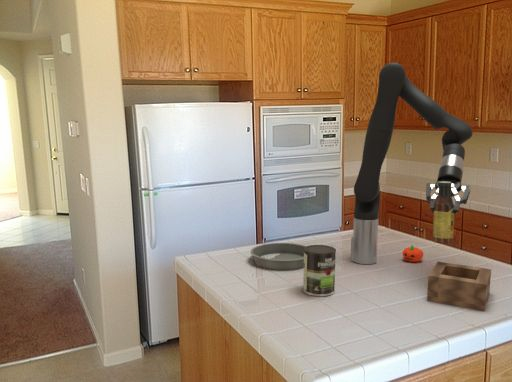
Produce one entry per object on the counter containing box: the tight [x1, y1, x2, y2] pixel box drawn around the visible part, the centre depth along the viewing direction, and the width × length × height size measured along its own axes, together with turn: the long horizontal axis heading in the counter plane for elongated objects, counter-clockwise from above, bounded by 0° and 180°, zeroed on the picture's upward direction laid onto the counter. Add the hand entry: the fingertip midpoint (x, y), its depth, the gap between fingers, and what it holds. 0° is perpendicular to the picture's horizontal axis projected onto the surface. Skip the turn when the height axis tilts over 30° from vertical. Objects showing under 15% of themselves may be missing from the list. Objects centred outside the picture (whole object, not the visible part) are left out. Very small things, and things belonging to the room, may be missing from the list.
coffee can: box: [302, 244, 337, 297], centre depth 152 cm, size 10×10×14 cm
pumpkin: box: [401, 244, 424, 263], centre depth 184 cm, size 7×8×6 cm
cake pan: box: [250, 242, 307, 271], centre depth 184 cm, size 25×25×4 cm
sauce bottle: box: [432, 181, 455, 245], centre depth 153 cm, size 7×6×20 cm
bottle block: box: [426, 261, 492, 312], centre depth 147 cm, size 16×16×8 cm
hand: (443, 211), depth 153 cm, fingers closed on sauce bottle, 6 cm apart
